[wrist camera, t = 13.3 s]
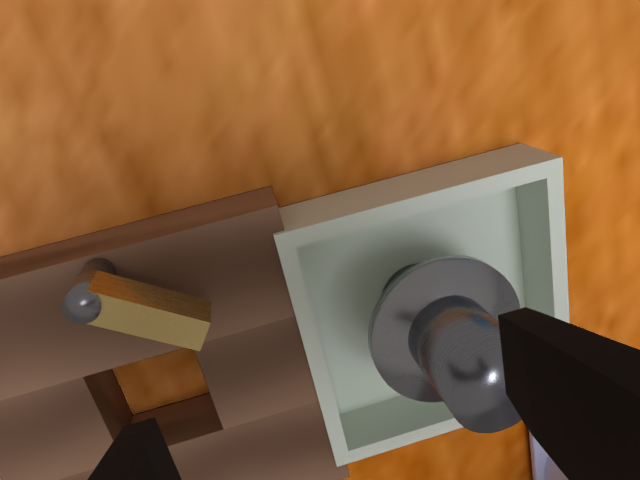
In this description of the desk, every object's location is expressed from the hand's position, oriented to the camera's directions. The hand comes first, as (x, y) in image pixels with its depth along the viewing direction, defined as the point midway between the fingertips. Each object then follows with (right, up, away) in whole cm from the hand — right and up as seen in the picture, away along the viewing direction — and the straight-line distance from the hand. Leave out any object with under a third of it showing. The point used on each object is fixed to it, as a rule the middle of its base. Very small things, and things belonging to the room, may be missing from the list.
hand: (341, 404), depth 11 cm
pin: (+3, +1, +11) cm, 11 cm away
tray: (+4, +1, +11) cm, 12 cm away
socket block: (-7, -2, +10) cm, 12 cm away
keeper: (-6, +2, +6) cm, 9 cm away
